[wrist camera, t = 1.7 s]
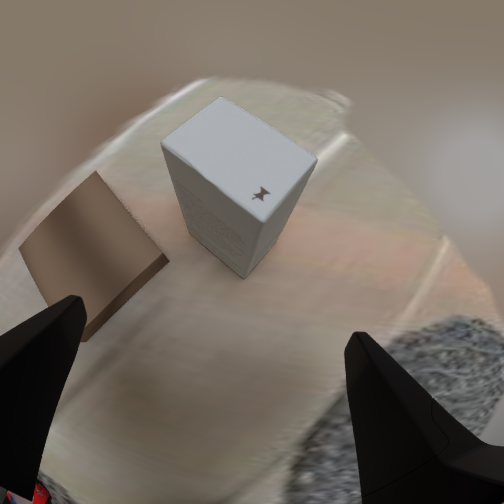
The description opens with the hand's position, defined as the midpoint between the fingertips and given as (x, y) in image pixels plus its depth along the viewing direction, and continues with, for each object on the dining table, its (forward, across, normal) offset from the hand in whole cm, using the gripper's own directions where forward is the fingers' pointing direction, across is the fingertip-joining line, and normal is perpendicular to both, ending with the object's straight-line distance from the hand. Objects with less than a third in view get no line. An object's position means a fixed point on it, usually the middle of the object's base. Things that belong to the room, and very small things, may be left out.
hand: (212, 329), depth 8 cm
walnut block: (+12, +12, +7) cm, 18 cm away
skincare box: (+15, 0, +4) cm, 15 cm away
